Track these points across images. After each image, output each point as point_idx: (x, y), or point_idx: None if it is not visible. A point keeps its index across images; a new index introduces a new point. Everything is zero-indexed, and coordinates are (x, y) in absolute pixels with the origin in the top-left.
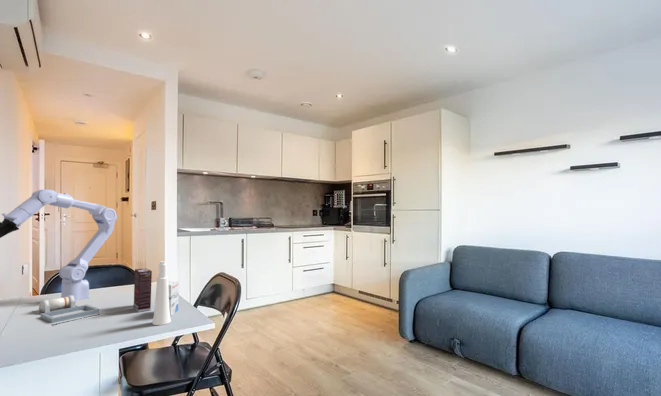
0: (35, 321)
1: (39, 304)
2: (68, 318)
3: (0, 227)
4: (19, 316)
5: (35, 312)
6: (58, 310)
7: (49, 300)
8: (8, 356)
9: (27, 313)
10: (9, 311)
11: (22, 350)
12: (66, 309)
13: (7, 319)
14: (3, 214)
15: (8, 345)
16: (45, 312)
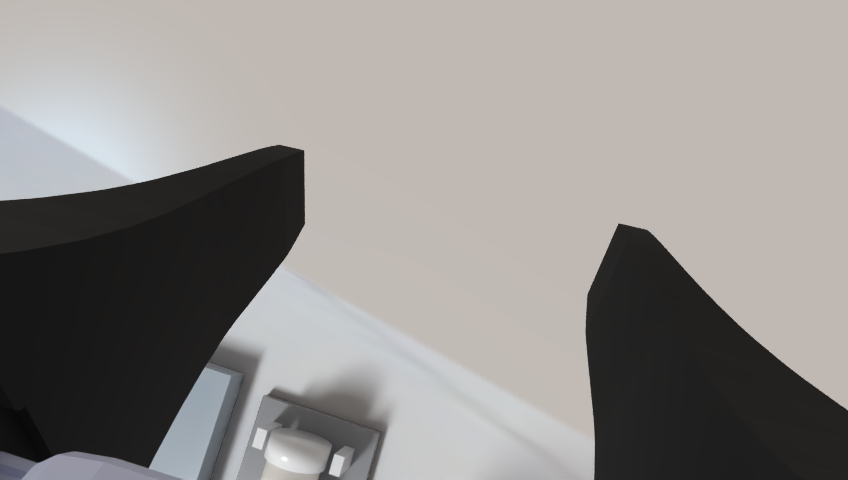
0: (241, 350)
1: (337, 453)
2: None
3: (122, 195)
4: (381, 376)
5: (338, 422)
6: (201, 440)
7: (274, 471)
8: (8, 117)
9: (398, 422)
10: (522, 418)
11: (11, 154)
12: (188, 469)
13: (381, 328)
14: (55, 465)
15: (84, 161)
16: (270, 422)
